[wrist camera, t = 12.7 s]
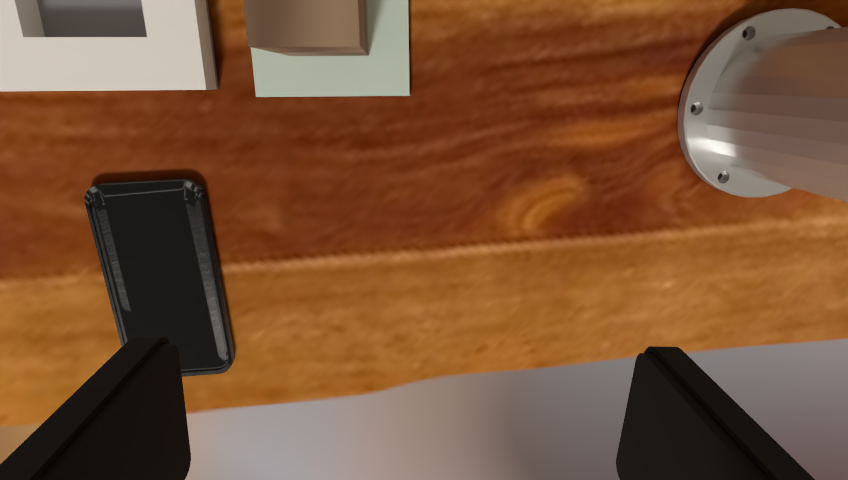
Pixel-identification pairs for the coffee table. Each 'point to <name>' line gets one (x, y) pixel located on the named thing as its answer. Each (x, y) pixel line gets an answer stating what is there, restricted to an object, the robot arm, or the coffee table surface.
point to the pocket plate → (106, 45)
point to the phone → (163, 268)
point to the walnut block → (308, 27)
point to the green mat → (344, 62)
